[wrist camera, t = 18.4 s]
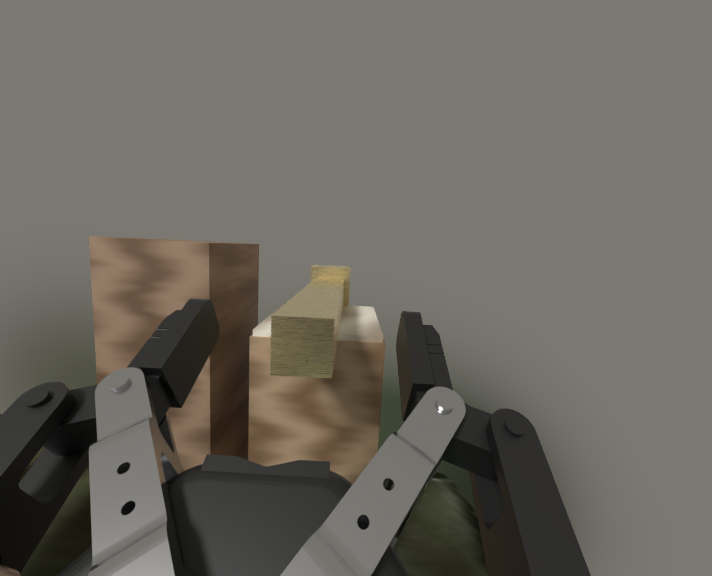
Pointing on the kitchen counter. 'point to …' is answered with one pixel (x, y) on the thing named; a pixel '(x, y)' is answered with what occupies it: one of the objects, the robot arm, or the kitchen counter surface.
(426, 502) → the kitchen counter surface
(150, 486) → the robot arm
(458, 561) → the kitchen counter surface
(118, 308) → the stepped wooden block
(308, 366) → the tan wooden bar
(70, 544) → the kitchen counter surface
